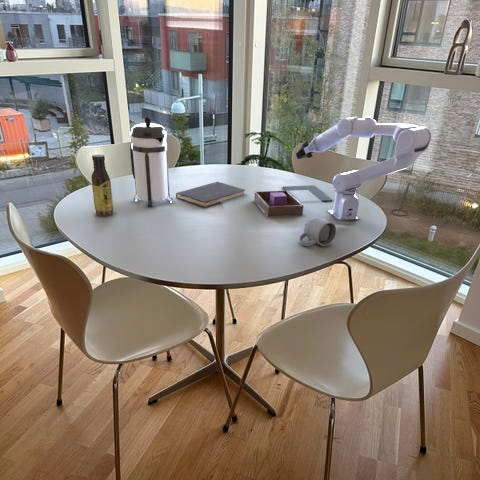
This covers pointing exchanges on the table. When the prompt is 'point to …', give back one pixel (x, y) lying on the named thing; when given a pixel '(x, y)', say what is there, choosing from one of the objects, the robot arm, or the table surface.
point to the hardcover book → (209, 194)
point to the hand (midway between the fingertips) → (303, 153)
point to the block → (278, 199)
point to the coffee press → (150, 162)
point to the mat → (312, 189)
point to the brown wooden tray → (290, 209)
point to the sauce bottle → (101, 187)
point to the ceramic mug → (318, 232)
